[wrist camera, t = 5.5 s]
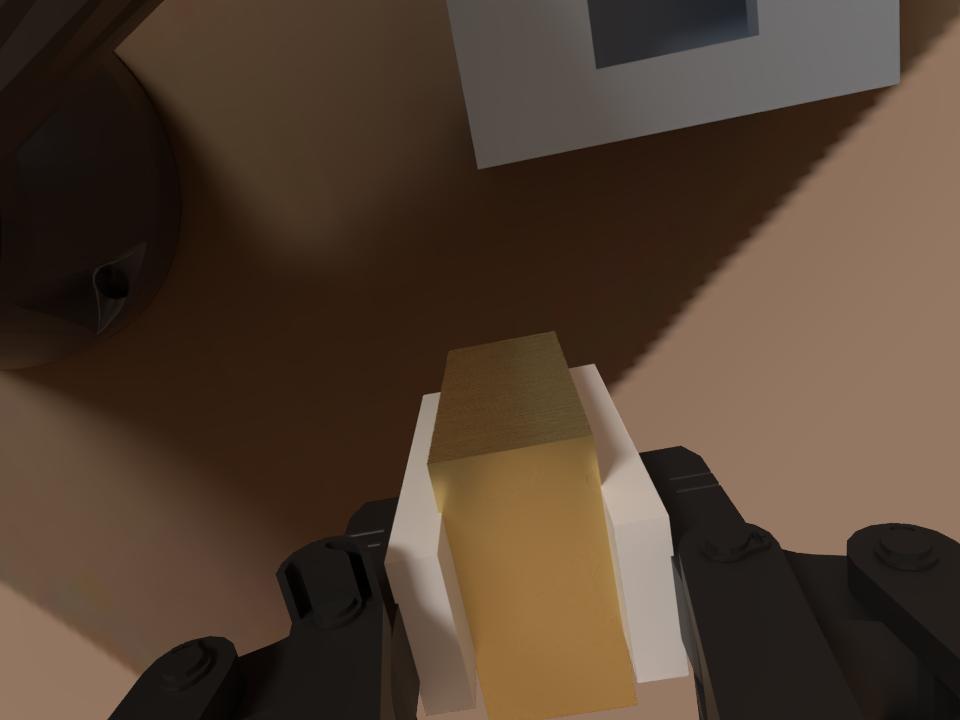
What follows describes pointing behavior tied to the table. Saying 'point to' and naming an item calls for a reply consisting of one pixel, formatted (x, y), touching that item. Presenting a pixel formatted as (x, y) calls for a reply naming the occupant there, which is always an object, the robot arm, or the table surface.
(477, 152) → the coin box
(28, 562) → the table surface
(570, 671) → the tan wooden block
